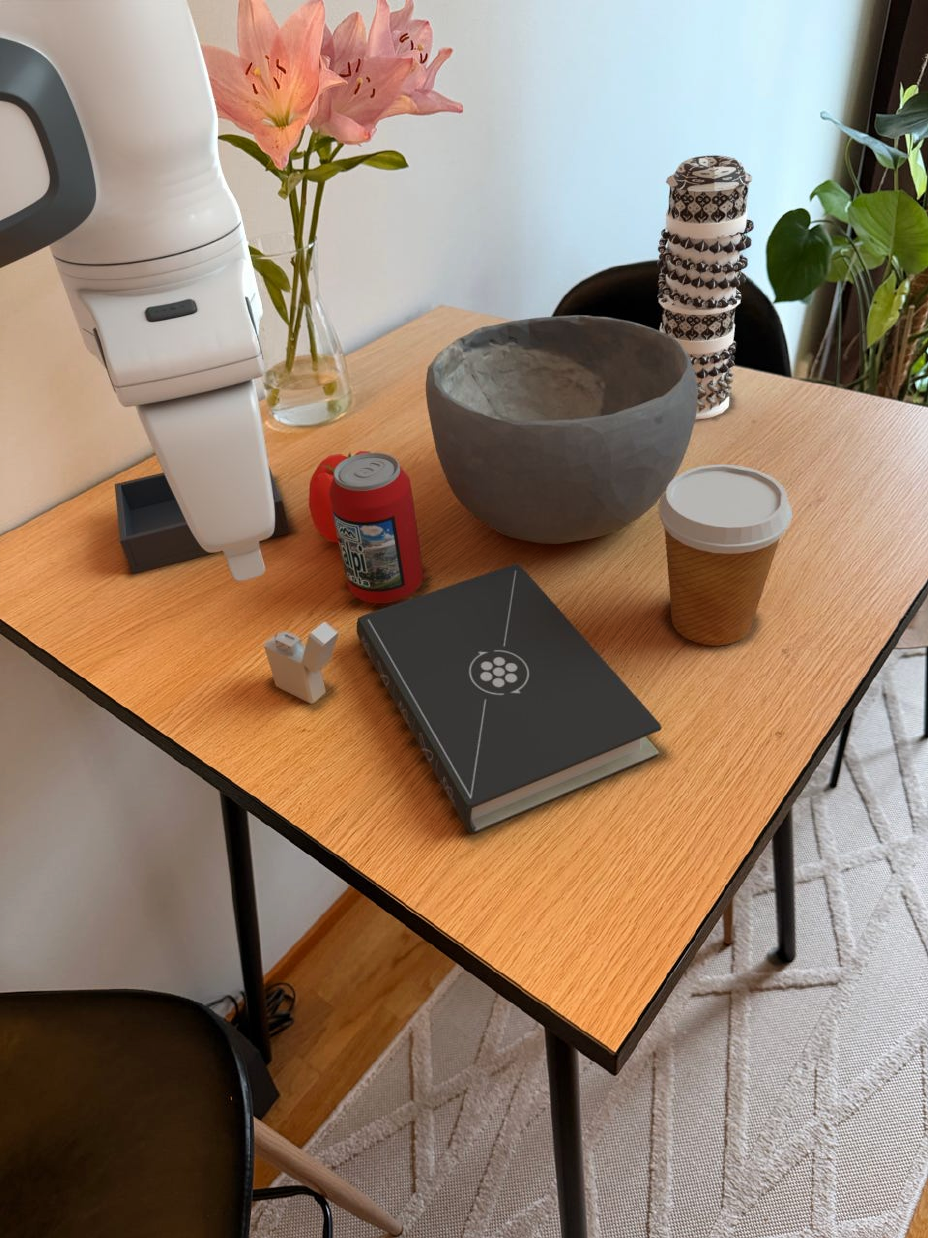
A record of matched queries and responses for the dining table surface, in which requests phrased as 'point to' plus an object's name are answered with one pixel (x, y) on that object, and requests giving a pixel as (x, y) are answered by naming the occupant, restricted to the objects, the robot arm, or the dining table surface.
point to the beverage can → (376, 527)
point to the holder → (164, 523)
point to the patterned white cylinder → (705, 269)
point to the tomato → (325, 496)
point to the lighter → (301, 661)
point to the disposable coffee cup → (720, 547)
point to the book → (504, 695)
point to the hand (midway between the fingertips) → (235, 528)
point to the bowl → (561, 423)
